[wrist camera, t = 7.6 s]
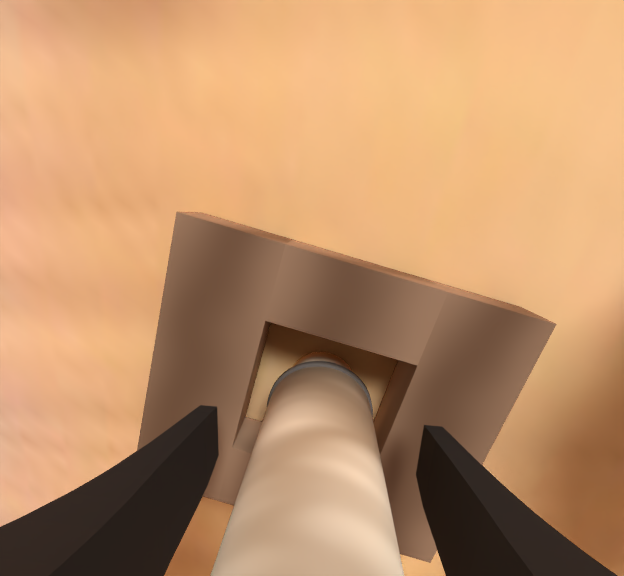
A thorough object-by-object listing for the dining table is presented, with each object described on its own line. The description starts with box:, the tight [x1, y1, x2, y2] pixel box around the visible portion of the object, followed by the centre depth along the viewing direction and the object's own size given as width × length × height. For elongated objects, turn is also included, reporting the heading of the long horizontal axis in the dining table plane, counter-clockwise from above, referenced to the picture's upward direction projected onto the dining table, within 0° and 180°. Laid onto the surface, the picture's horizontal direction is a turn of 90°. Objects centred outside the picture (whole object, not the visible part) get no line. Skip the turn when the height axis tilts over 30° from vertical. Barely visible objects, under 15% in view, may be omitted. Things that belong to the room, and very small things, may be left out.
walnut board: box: [137, 212, 556, 563], centre depth 13 cm, size 14×12×2 cm
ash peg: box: [210, 352, 404, 576], centre depth 9 cm, size 4×4×9 cm
